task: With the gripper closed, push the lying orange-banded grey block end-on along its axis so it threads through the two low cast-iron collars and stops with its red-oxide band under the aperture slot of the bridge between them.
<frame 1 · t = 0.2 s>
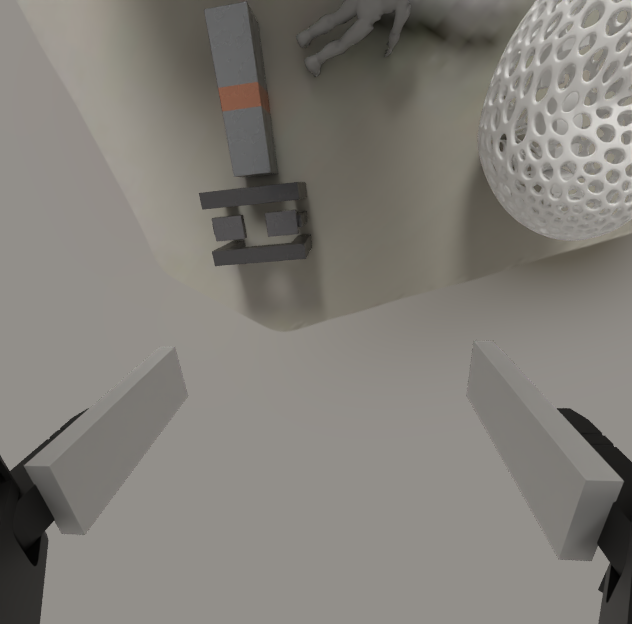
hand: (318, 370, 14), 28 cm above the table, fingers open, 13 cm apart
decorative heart: (505, 136, 34), on the table
orange-banded grey block: (251, 106, 35), on the table
soldier figurine: (357, 33, 32), on the table
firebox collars: (268, 220, 39), on the table
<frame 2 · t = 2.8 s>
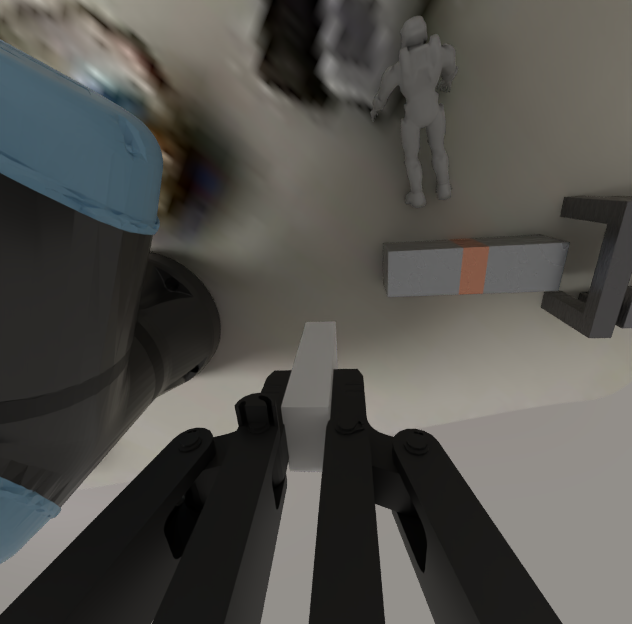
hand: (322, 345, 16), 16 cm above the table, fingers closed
orange-banded grey block: (457, 260, 30), on the table
soldier figurine: (413, 132, 26), on the table
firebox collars: (596, 253, 29), on the table
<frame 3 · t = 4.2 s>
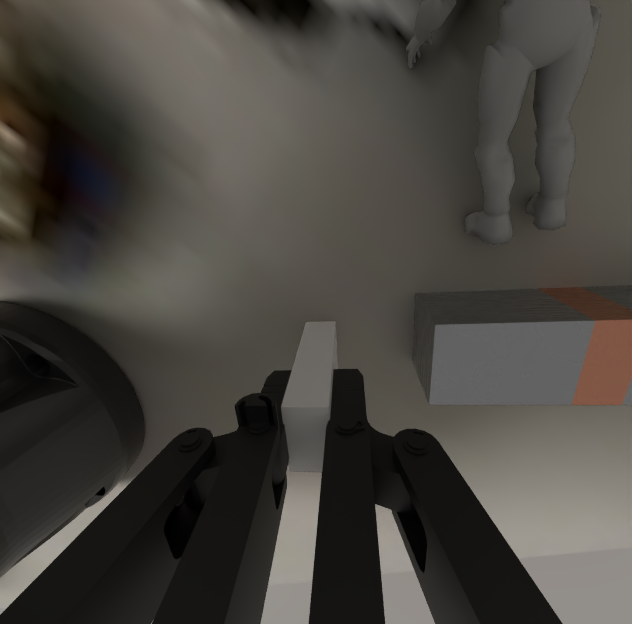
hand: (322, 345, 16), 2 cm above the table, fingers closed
orange-banded grey block: (550, 324, 16), on the table
soldier figurine: (488, 93, 13), on the table
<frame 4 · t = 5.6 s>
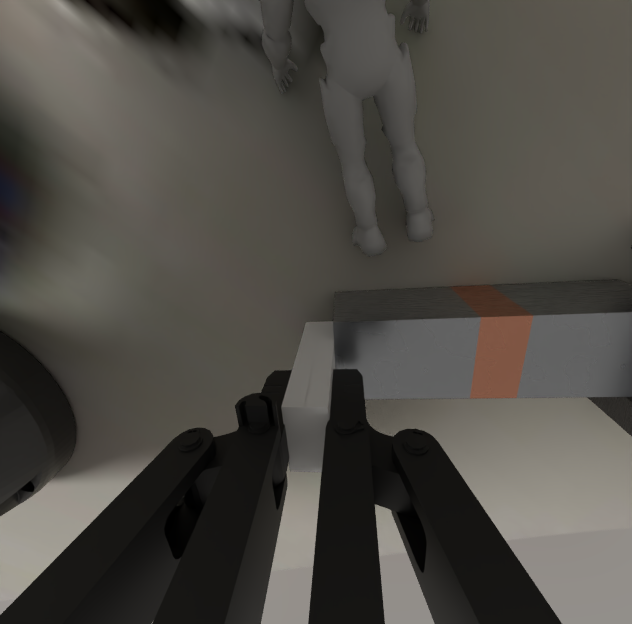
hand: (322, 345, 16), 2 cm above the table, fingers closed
orange-banded grey block: (465, 321, 17), on the table, touching gripper
soldier figurine: (361, 114, 14), on the table
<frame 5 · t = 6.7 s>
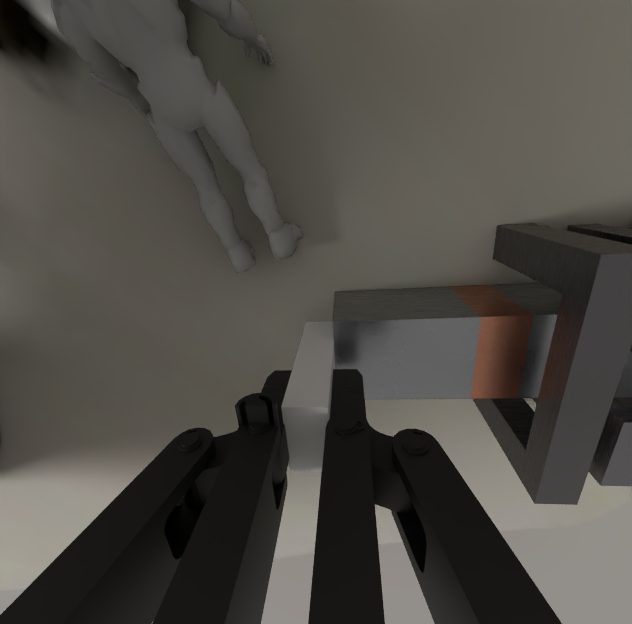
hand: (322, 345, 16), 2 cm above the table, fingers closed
orange-banded grey block: (466, 321, 17), on the table, touching gripper
soldier figurine: (229, 138, 15), on the table
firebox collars: (559, 320, 17), on the table
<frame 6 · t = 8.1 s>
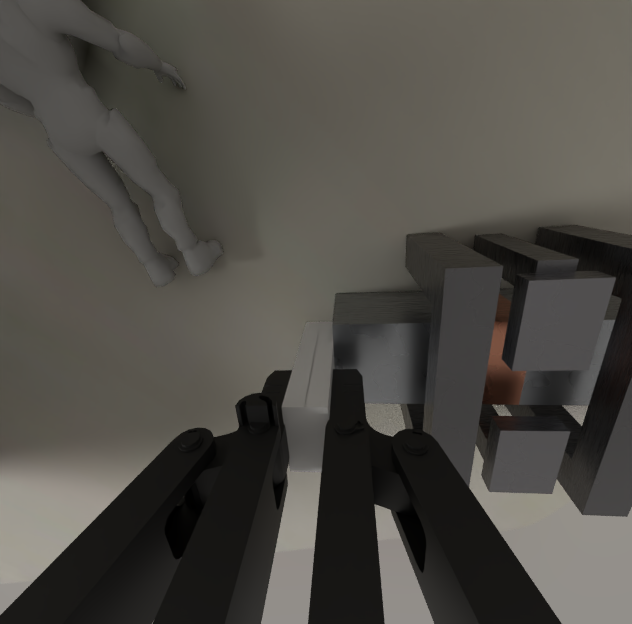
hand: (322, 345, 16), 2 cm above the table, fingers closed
orange-banded grey block: (468, 325, 17), on the table, touching gripper
soldier figurine: (152, 156, 15), on the table
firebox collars: (475, 327, 17), on the table
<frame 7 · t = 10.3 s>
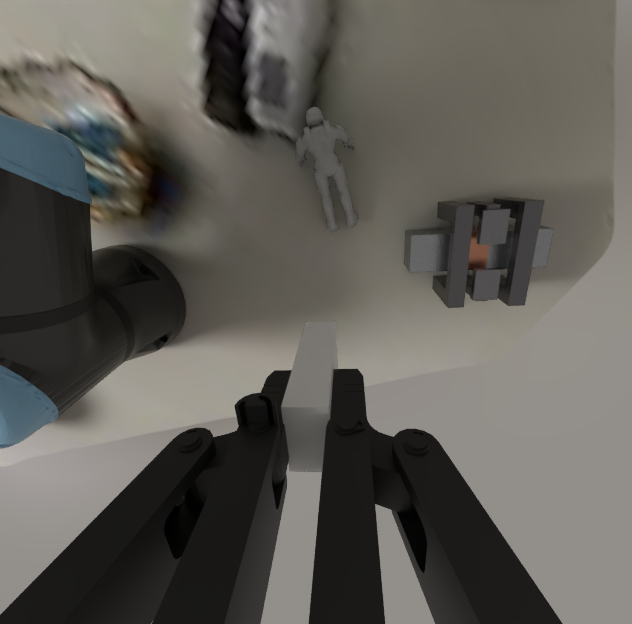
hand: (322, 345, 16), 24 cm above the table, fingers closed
orange-banded grey block: (465, 244, 37), on the table
soldier figurine: (331, 175, 36), on the table
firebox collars: (468, 245, 37), on the table
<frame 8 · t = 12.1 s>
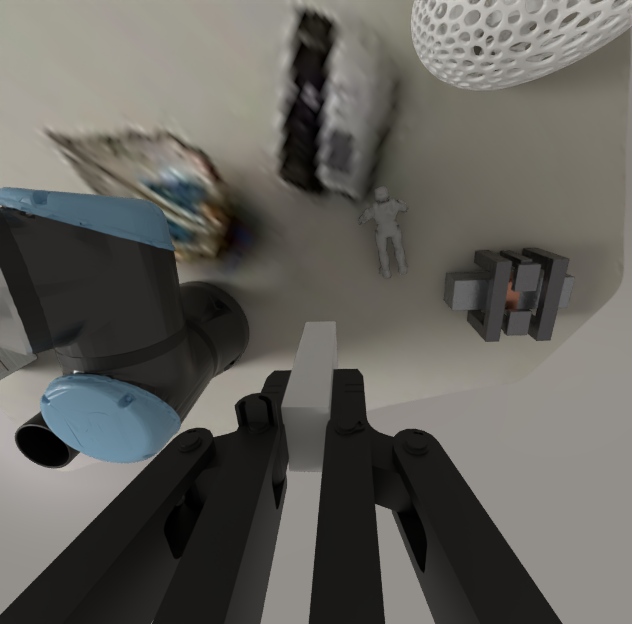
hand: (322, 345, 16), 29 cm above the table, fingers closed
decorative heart: (476, 50, 34), on the table
supplement box: (12, 347, 55), on the table
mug: (81, 411, 60), on the table
orange-banded grey block: (497, 284, 43), on the table
soldier figurine: (385, 231, 42), on the table
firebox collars: (499, 286, 43), on the table
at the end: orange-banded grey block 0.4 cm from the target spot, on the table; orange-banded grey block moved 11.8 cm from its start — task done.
